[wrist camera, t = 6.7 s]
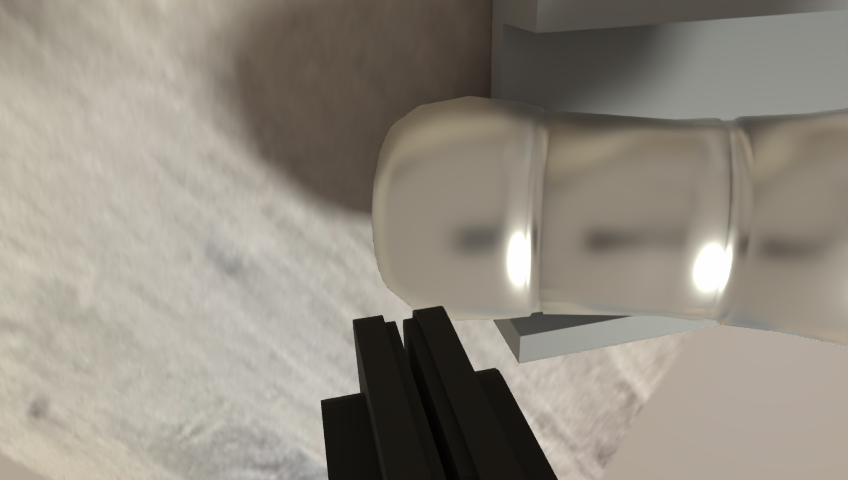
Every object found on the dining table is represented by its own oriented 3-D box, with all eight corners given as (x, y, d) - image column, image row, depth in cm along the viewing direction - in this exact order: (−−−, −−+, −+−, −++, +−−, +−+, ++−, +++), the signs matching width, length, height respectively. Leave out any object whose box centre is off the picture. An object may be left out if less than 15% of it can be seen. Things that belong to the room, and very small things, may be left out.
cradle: (492, -22, 17) (538, -17, 14) (976, -49, 21) (1095, -49, 18) (487, 309, 23) (518, 363, 20) (867, 244, 27) (943, 282, 24)
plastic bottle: (377, 354, 18) (1246, 468, 12) (316, 187, 13) (1688, 248, 7) (426, 216, 22) (1083, 253, 16) (394, 54, 17) (1296, 29, 12)
